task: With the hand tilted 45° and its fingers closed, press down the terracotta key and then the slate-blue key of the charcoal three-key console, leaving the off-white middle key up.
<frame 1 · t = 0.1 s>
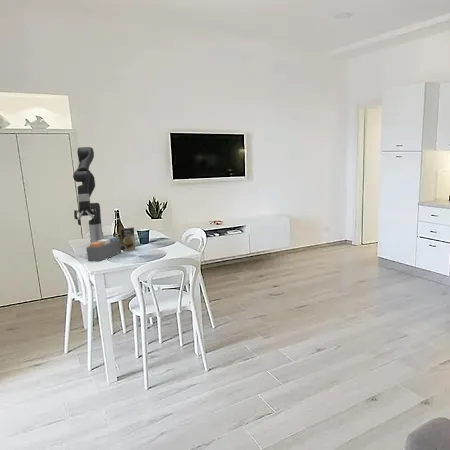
hand: (86, 224, 264), 22 cm above the table, tool pointing down, fingers open, 8 cm apart
console: (105, 256, 267), on the table
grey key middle: (103, 242, 265), point 10 cm above the table, slide at 0.0 cm
coffee box: (129, 250, 282), on the table
slate key: (110, 239, 273), point 10 cm above the table, slide at 0.0 cm
terracotta key: (96, 245, 258), point 10 cm above the table, slide at 0.0 cm
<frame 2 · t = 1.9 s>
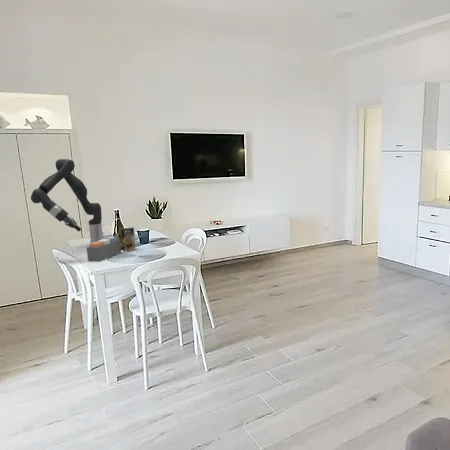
hand: (80, 230, 255), 20 cm above the table, tool tilted 45°, fingers closed
nothing on the table moved.
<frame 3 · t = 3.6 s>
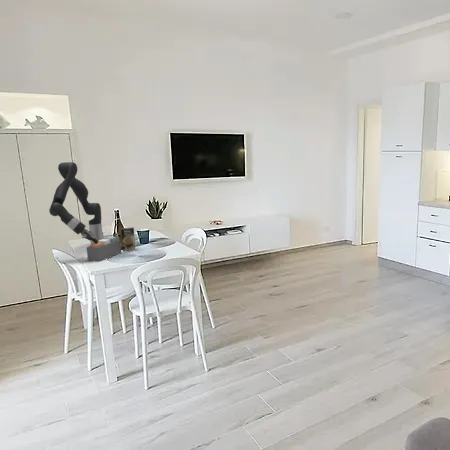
hand: (97, 242, 258), 11 cm above the table, tool tilted 45°, fingers closed
terracotta key: (96, 245, 258), point 9 cm above the table, slide at 0.6 cm, touching gripper
everything else where it was.
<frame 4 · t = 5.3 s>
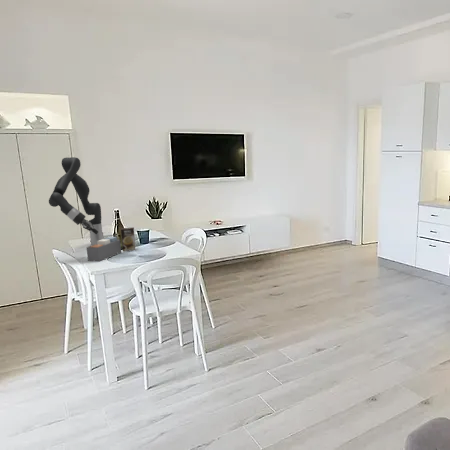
hand: (97, 233, 257), 18 cm above the table, tool tilted 45°, fingers closed
terracotta key: (96, 247, 258), point 8 cm above the table, slide at 1.9 cm
everything else where it was.
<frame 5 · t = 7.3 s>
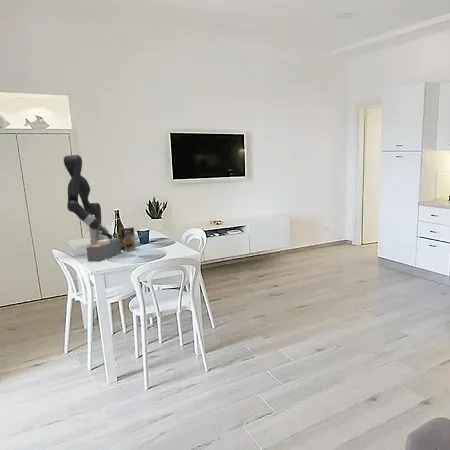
hand: (111, 238, 272), 11 cm above the table, tool tilted 45°, fingers closed
slate key: (110, 240, 273), point 9 cm above the table, slide at 0.8 cm, touching gripper
everything else where it was.
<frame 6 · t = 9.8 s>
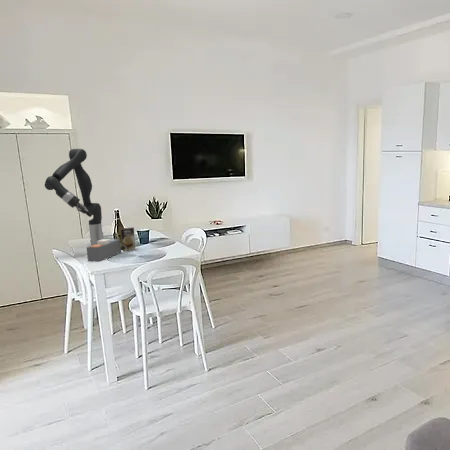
hand: (91, 215, 268), 28 cm above the table, tool tilted 45°, fingers closed
slate key: (111, 242, 273), point 8 cm above the table, slide at 1.9 cm
everything else where it was.
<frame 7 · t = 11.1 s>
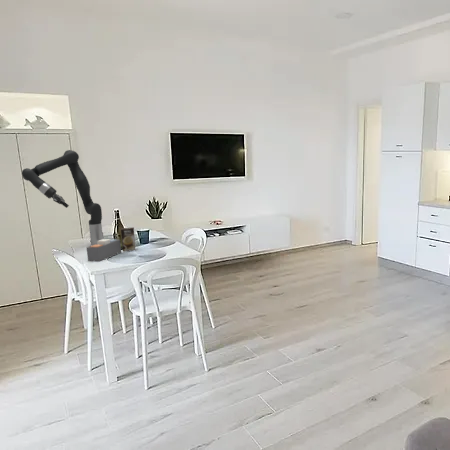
hand: (67, 206, 274), 34 cm above the table, tool tilted 45°, fingers closed
nothing on the table moved.
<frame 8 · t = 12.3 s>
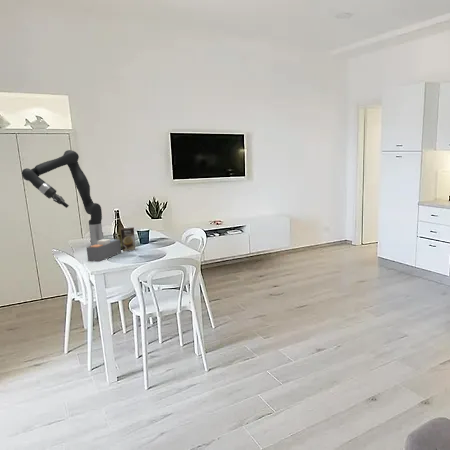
hand: (67, 206, 274), 34 cm above the table, tool tilted 45°, fingers closed
nothing on the table moved.
at the end: terracotta key slide at 1.9 cm; slate key slide at 1.9 cm; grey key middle slide at 0.0 cm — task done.
